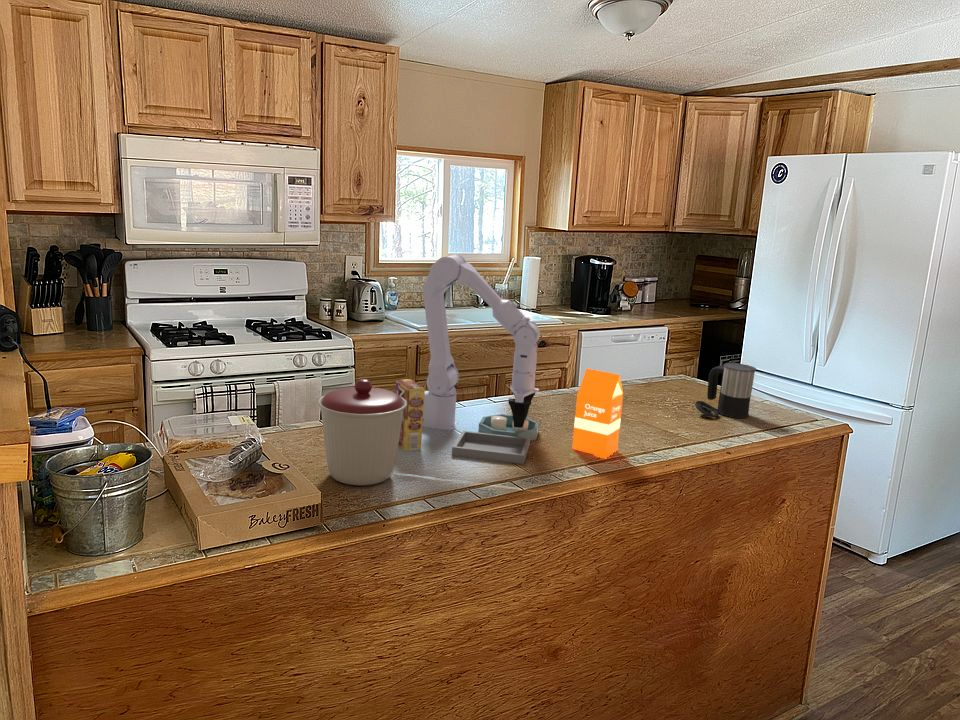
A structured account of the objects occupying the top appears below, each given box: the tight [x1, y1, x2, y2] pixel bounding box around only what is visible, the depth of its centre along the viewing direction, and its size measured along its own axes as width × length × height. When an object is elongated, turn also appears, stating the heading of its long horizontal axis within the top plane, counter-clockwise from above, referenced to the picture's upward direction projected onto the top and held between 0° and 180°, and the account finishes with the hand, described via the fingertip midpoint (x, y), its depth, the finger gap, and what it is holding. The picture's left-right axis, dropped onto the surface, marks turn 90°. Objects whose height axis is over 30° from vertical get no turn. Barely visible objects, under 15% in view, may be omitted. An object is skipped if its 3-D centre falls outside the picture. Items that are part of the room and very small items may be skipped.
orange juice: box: [571, 368, 624, 460], centre depth 177 cm, size 8×9×20 cm
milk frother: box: [694, 362, 757, 419], centre depth 216 cm, size 14×16×15 cm
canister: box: [317, 378, 407, 486], centre depth 152 cm, size 18×18×21 cm
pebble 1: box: [491, 416, 507, 431], centre depth 187 cm, size 4×4×4 cm
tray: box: [451, 430, 531, 465], centre depth 173 cm, size 17×13×2 cm
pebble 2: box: [512, 419, 529, 432], centre depth 186 cm, size 4×4×4 cm
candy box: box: [395, 378, 426, 451], centre depth 173 cm, size 9×4×15 cm, turn 26°
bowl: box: [477, 413, 540, 442], centre depth 187 cm, size 15×15×3 cm
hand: (520, 422), depth 186 cm, fingers open, 7 cm apart
